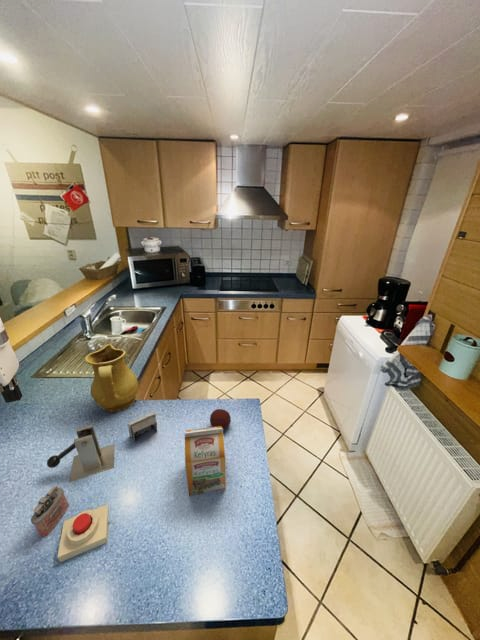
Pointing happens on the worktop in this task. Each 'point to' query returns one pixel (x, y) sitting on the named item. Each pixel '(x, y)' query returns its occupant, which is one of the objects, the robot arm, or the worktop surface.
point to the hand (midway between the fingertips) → (14, 399)
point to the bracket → (90, 455)
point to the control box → (84, 534)
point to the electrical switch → (142, 425)
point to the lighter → (50, 511)
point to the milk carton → (205, 460)
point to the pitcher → (112, 379)
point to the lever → (64, 452)
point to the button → (82, 523)
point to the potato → (220, 418)
